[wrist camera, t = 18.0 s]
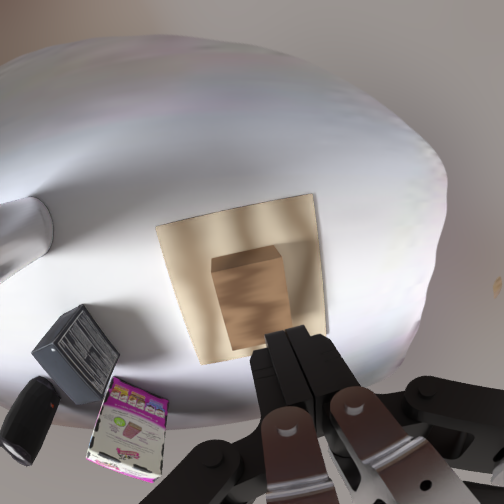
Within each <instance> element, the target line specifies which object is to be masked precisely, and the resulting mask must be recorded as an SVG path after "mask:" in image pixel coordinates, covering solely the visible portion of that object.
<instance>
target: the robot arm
mask: <svg viewBox="0 0 504 504" xmlns="http://www.w3.org/2000/svg"><path fill="white" fill-rule="evenodd" d="M52 240H53V223H52V219H51V216H50V213H49V211H48V209H47V207H46V206H45V205H44V204H43V203H42V202H41V201H40V200H39V199H37V198H35V197H26V198H22V199H18V200H15V201H11V202H7V203H3V204H0V284H1V283H3V282H4V281H5V280H7V279H8V278H10V277H11V276H13V275H14V274H15V273H17V272H18V271H20V270H21V269H23V268H24V267H26V266H27V265H29V264H31V263H32V262H34V261H35V260H37V259H38V258H40V257H42V256H43V255H44V254H46V253H47V251H48V250H49V248H50V246H51V244H52ZM264 337H265V342H266V348H262V349H258V350H253V353H252V356H251V358H250V365H251V370H252V375H253V379H254V384H255V389H256V393H257V398H258V403H259V407H260V412H261V420H260V423H259V425H258V427H257V428H256V430H254V431H253V433H251V434H250V435H248V436H247V437H245V438H243V439H241V440H238V441H236V442H234V443H232V444H231V443H229V442H227V441H224V440H208V441H205V442H202V443H200V444H198V445H197V446H196V447H194V448H193V449H192V451H191V452H190V453H189V454H188V455H187V456H186V457H185V458H184V459H183V460H182V461H181V462H180V463H179V464H178V466H176V468H175V469H174V470H173V471H172V472H171V473H170V474H169V475H168V476H167V477H166V478H165V479H164V480H163V481H162V482H161V483H160V484H159V485H158V486H157V487H156V488H155V489H154V490H153V491H151V492H150V493H149V494H148V495H147V497H145V498H144V499H143V500H142V501H141V502H140V503H139V504H252V503H253V502H254V501H255V499H256V498H257V497H259V496H261V495H263V494H265V493H266V502H267V504H339V500H338V497H337V493H336V490H335V487H334V484H333V482H332V480H331V479H330V478H329V476H328V473H327V470H326V467H325V463H324V459H323V456H322V452H321V448H320V445H319V442H318V438H319V437H322V436H325V438H326V440H327V442H328V452H329V455H330V457H331V459H332V461H333V463H334V465H335V466H336V468H337V470H338V472H339V474H340V476H341V477H342V479H343V481H344V483H345V485H346V487H347V489H348V490H349V492H350V495H351V498H352V503H353V504H504V390H500V389H494V388H487V387H482V386H476V385H471V384H466V383H461V382H456V381H451V380H446V379H442V378H437V377H433V376H421V377H418V378H415V379H414V380H412V381H411V382H410V383H409V384H408V385H407V387H406V389H405V391H401V392H396V393H389V394H375V393H374V392H373V391H371V390H369V389H368V388H365V387H361V386H360V384H359V383H358V381H357V380H356V378H355V377H354V375H353V373H352V372H351V370H350V369H349V367H348V366H347V364H346V363H345V361H344V360H343V358H341V355H340V353H339V352H338V350H336V347H335V346H334V344H333V343H332V341H331V340H330V339H329V338H327V337H325V336H324V335H322V334H316V335H313V336H310V334H309V332H308V331H307V329H306V327H305V326H304V325H299V326H296V327H292V328H288V329H285V330H280V331H276V332H272V333H267V334H264ZM451 467H452V468H457V469H463V470H468V471H474V472H482V473H489V474H493V476H492V478H491V484H492V485H486V484H479V483H474V482H469V481H462V480H461V479H460V478H459V477H458V476H457V475H456V473H455V472H454V471H453V470H452V468H451ZM498 485H499V486H498ZM500 486H501V487H500Z"/></svg>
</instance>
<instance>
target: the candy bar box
mask: <svg viewBox="0 0 504 504" xmlns="http://www.w3.org/2000/svg"><path fill="white" fill-rule="evenodd" d="M168 407H169V401H168V400H166V399H164V398H161V397H159V396H156V395H154V394H151V393H149V392H147V391H144V390H142V389H140V388H137V387H135V386H133V385H131V384H128V383H126V382H124V381H122V380H120V379H118V378H116V377H114V376H113V377H112V380H111V382H110V384H109V387H108V389H107V392H106V394H105V397H104V400H103V403H102V406H101V409H100V412H99V415H98V418H97V421H96V424H95V427H94V430H93V433H92V437H91V440H90V444H89V448H88V451H87V455H86V459H87V460H90V461H92V462H94V463H96V464H99V465H101V466H103V467H106V468H108V469H111V470H114V471H117V472H119V473H122V474H125V475H128V476H131V477H134V478H137V479H140V480H143V481H147V482H150V483H153V482H155V480H156V479H158V478H159V477H160V476H161V475H162V466H163V451H164V441H165V431H166V423H167V414H168Z"/></svg>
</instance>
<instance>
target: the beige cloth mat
mask: <svg viewBox="0 0 504 504" xmlns="http://www.w3.org/2000/svg"><path fill="white" fill-rule="evenodd" d="M155 228H156V232H157V236H158V239H159V243H160V246H161V250H162V253H163V257H164V260H165V264H166V267H167V270H168V273H169V277H170V280H171V283H172V286H173V289H174V292H175V295H176V298H177V301H178V304H179V307H180V310H181V313H182V316H183V319H184V322H185V324H186V327H187V330H188V333H189V335H190V338H191V341H192V343H193V346H194V349H195V351H196V354H197V356H198V359H199V362H200V364H201V365H205V364H211V363H217V362H222V361H227V360H233V359H238V358H242V357H247V356H252V353H253V350H258V349H262V348H266V344H262V345H258V346H253V347H249V348H244V349H239V350H235V351H232V347H231V344H230V341H229V337H228V334H227V330H226V327H225V323H224V320H223V316H222V313H221V309H220V305H219V302H218V298H217V294H216V291H215V287H214V283H213V279H212V275H211V258H215V257H219V256H224V255H228V254H233V253H238V252H242V251H247V250H251V249H256V248H261V247H265V246H270V245H274V246H275V248H276V249H277V250H278V252H279V253H280V254H281V256H282V258H283V264H284V271H285V277H286V284H287V291H288V298H289V304H290V312H291V319H292V326H293V327H296V326H299V325H304V326H305V327H306V329H307V331H308V332H309V334H310V336H313V335H316V334H322V335H324V336H325V337H326V322H325V306H324V293H323V281H322V270H321V259H320V250H319V241H318V232H317V224H316V216H315V209H314V202H313V195H312V194H306V195H301V196H295V197H290V198H284V199H279V200H274V201H269V202H263V203H258V204H253V205H249V206H244V207H239V208H234V209H229V210H225V211H220V212H216V213H211V214H207V215H202V216H198V217H193V218H189V219H185V220H181V221H177V222H172V223H168V224H164V225H160V226H156V227H155Z"/></svg>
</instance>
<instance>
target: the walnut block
mask: <svg viewBox="0 0 504 504" xmlns="http://www.w3.org/2000/svg"><path fill="white" fill-rule="evenodd" d="M211 275H212V279H213V283H214V287H215V291H216V294H217V298H218V302H219V305H220V309H221V313H222V316H223V320H224V323H225V327H226V330H227V334H228V337H229V341H230V344H231V347H232V351H235V350H239V349H244V348H249V347H253V346H258V345H262V344H266V342H265V337H264V334H267V333H272V332H276V331H280V330H285V329H288V328H292V327H293V326H292V319H291V312H290V304H289V298H288V291H287V284H286V277H285V271H284V264H283V258H282V256H281V254H280V253H279V252H278V250H277V249H276V248H275V246H274V245H270V246H265V247H261V248H256V249H251V250H247V251H242V252H238V253H233V254H228V255H224V256H219V257H215V258H211Z"/></svg>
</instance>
